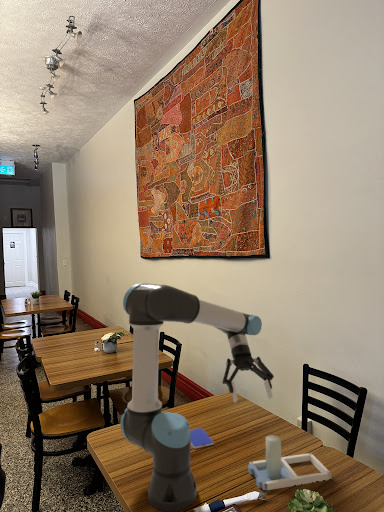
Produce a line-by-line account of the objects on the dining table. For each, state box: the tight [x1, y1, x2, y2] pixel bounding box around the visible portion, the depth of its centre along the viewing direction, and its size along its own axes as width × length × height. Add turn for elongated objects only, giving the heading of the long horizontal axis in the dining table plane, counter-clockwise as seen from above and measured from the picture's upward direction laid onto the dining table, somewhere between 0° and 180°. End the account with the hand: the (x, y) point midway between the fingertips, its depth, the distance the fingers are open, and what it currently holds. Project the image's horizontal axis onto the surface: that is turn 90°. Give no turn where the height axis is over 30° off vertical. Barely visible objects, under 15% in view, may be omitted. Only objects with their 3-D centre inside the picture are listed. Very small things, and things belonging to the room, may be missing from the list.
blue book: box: [190, 427, 215, 450], centre depth 145 cm, size 2×8×12 cm
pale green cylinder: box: [265, 434, 282, 479], centre depth 120 cm, size 5×5×12 cm
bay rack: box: [247, 452, 332, 491], centre depth 122 cm, size 25×12×2 cm, turn 102°
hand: (253, 399), depth 134 cm, fingers open, 13 cm apart
